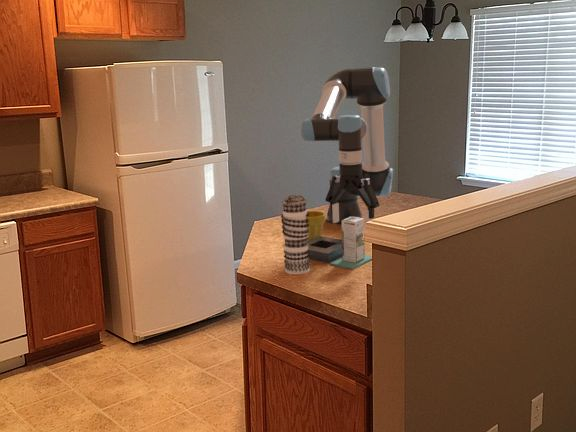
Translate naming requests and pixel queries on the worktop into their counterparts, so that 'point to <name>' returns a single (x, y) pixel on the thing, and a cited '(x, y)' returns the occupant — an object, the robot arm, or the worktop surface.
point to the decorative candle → (295, 235)
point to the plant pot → (315, 223)
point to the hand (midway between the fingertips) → (352, 224)
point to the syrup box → (353, 239)
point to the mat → (351, 263)
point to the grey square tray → (324, 249)
